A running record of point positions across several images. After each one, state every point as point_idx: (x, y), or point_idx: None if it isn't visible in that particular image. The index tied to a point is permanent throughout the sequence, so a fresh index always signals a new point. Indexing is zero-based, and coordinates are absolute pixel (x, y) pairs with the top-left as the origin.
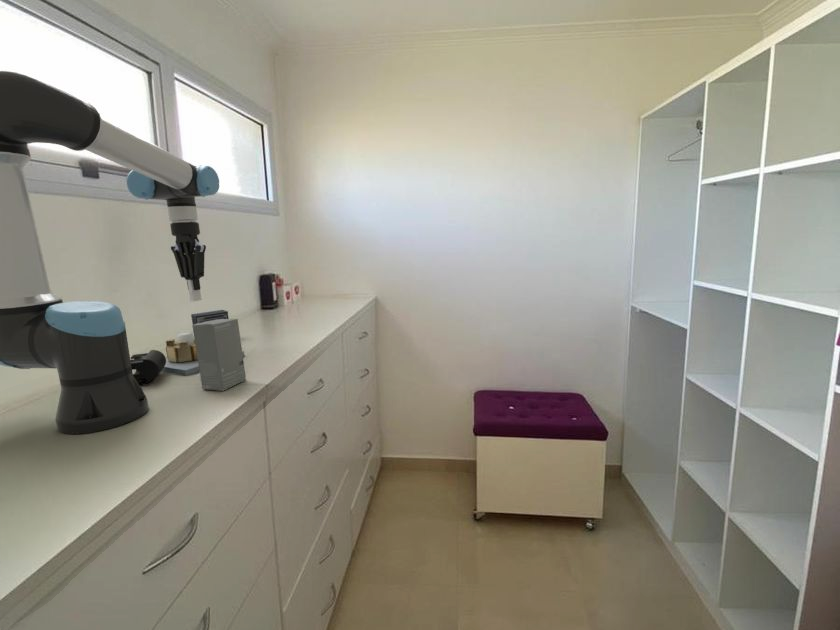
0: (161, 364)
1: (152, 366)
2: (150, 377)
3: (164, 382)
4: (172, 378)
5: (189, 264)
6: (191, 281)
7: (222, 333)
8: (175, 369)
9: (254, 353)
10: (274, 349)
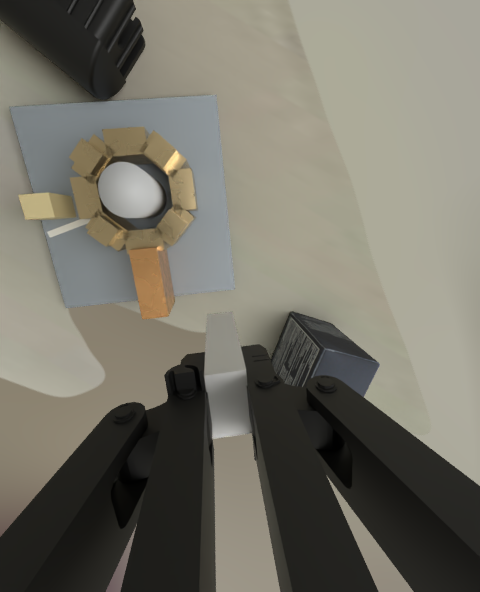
0: (22, 36)
1: None
2: None
3: (9, 41)
4: (31, 78)
5: (180, 522)
6: (204, 374)
7: None
8: (59, 105)
9: (75, 331)
10: (64, 376)
